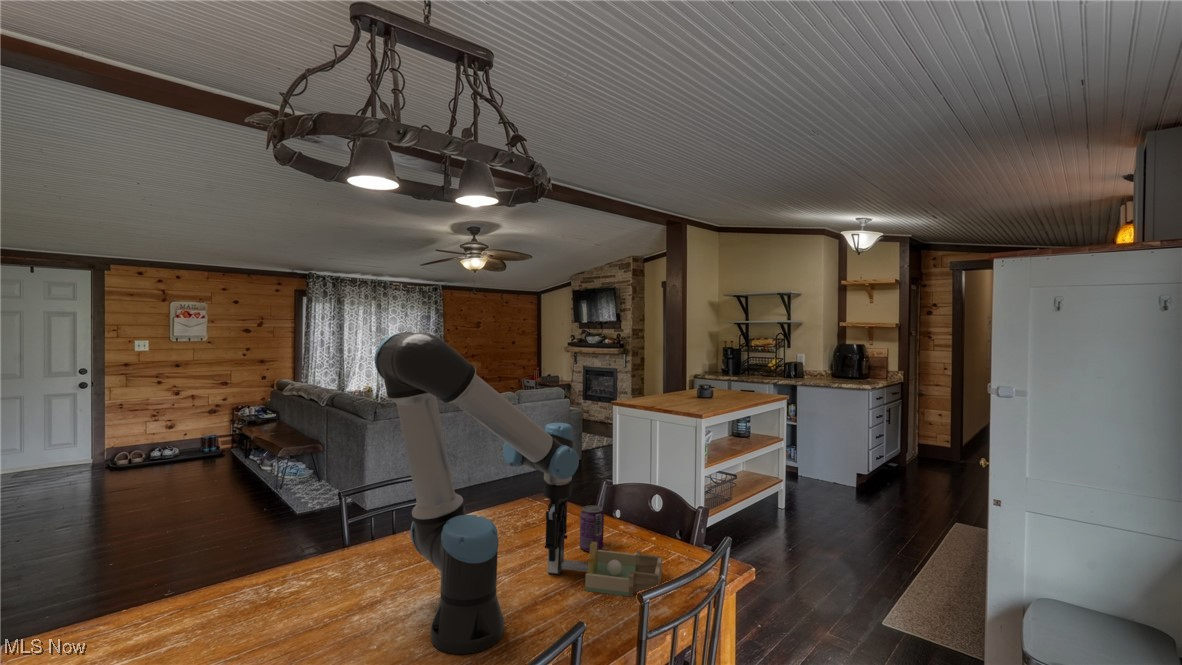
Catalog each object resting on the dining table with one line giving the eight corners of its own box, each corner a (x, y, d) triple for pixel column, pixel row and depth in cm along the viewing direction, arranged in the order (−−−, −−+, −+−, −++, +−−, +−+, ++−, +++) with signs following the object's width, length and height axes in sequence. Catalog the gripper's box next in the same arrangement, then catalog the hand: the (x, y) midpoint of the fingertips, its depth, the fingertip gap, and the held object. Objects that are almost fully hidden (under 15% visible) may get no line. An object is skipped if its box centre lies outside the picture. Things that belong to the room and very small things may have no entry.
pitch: (628, 596, 131) (629, 580, 131) (585, 590, 133) (585, 574, 133) (636, 568, 147) (637, 554, 147) (597, 564, 149) (598, 549, 149)
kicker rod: (593, 581, 138) (594, 542, 138) (546, 575, 141) (547, 537, 141) (597, 571, 144) (598, 534, 144) (552, 565, 146) (553, 529, 146)
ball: (620, 579, 137) (620, 564, 137) (605, 578, 138) (605, 562, 138) (622, 573, 141) (623, 558, 141) (608, 571, 142) (608, 556, 142)
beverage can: (603, 544, 163) (604, 505, 163) (602, 554, 156) (603, 513, 156) (580, 543, 163) (581, 504, 163) (578, 552, 156) (579, 511, 156)
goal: (657, 600, 129) (657, 579, 129) (628, 596, 131) (629, 576, 131) (662, 571, 145) (662, 553, 145) (636, 568, 147) (637, 550, 147)
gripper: (562, 492, 134) (560, 584, 134) (579, 473, 151) (577, 555, 151) (534, 489, 135) (531, 580, 135) (553, 471, 153) (551, 552, 153)
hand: (555, 567), depth 143 cm, fingers open, 5 cm apart
